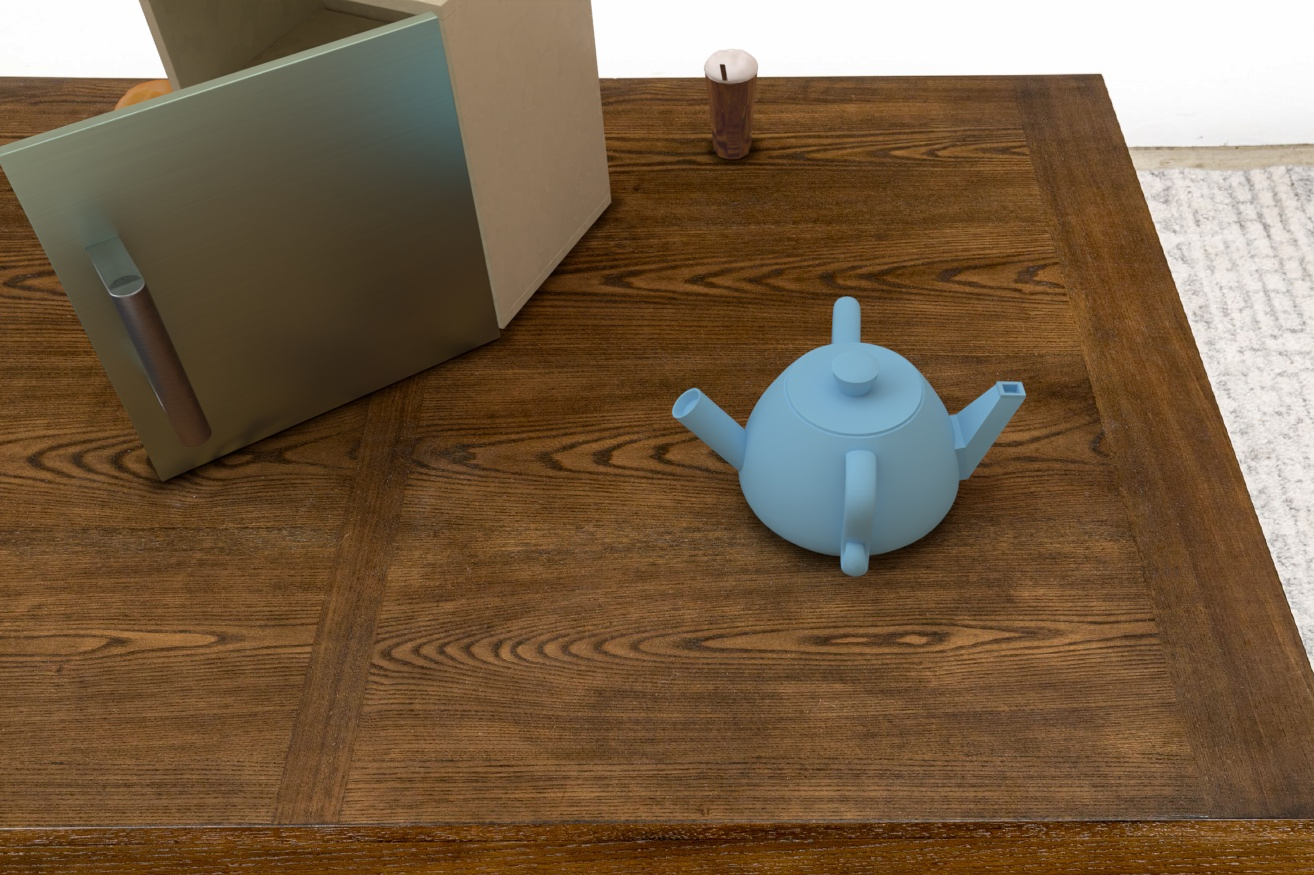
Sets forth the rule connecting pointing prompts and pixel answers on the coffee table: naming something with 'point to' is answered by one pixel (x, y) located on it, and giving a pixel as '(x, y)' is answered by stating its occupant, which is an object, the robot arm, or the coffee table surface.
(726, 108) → the milkshake
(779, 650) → the coffee table surface
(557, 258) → the box
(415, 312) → the fridge door
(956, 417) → the teapot
